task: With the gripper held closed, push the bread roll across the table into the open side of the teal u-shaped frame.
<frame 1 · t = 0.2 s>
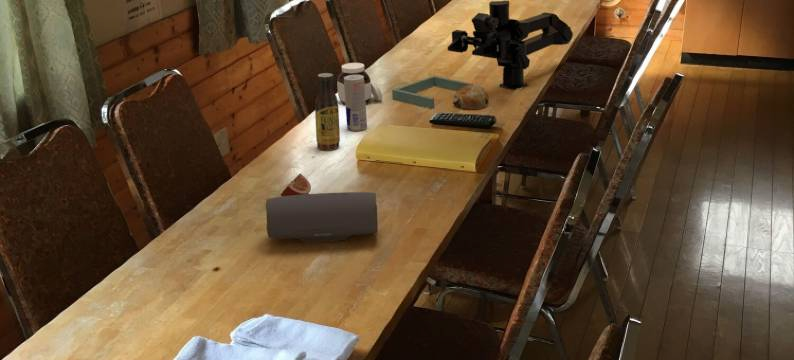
hand: (460, 50, 271), 17 cm above the table, tool horizontal, fingers open, 9 cm apart
beverage can: (357, 129, 263), on the table
bread roll: (470, 106, 278), on the table
bluetooth speaker: (324, 238, 199), on the table
fruit slice: (296, 199, 219), on the table
spread jar: (361, 102, 286), on the table
teal u-shaped frame: (433, 96, 288), on the table
sauce bottle: (329, 147, 250), on the table
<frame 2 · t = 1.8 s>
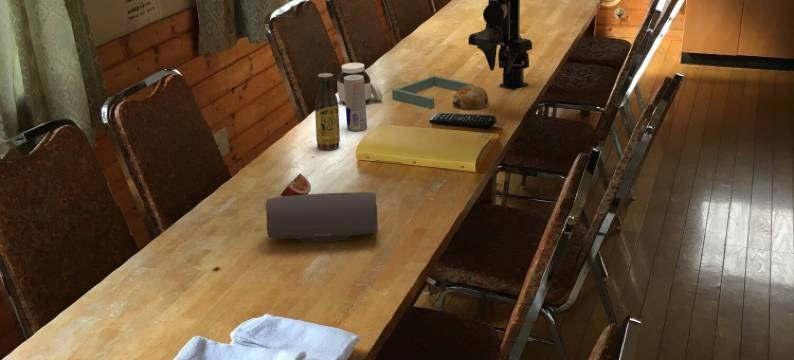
hand: (499, 71, 266), 12 cm above the table, tool pointing down, fingers open, 5 cm apart
nothing on the table moved.
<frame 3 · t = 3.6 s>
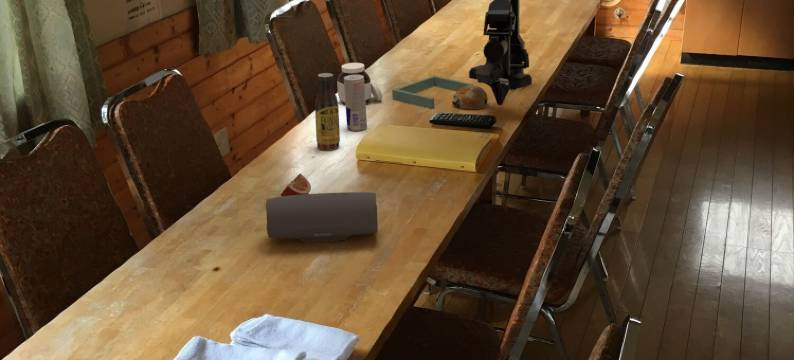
hand: (499, 105, 270), 2 cm above the table, tool pointing down, fingers closed
nothing on the table moved.
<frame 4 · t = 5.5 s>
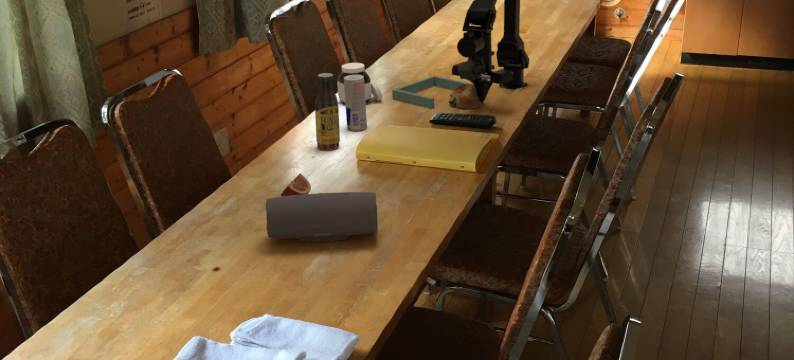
hand: (482, 101, 274), 2 cm above the table, tool pointing down, fingers closed
bread roll: (466, 105, 279), on the table, touching gripper
everything else where it was.
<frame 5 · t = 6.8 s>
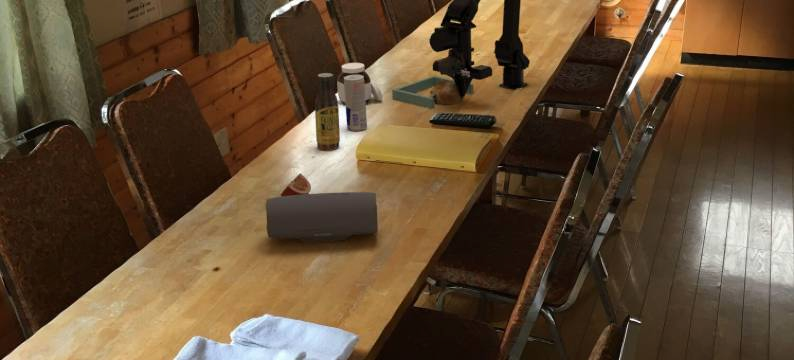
hand: (462, 96, 279), 2 cm above the table, tool pointing down, fingers closed
bread roll: (446, 101, 284), on the table, touching gripper
everything else where it was.
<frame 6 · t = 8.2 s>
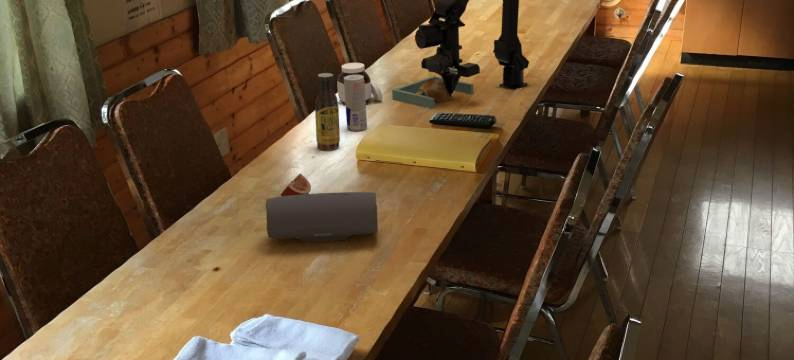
hand: (450, 93, 283), 2 cm above the table, tool pointing down, fingers closed
bread roll: (434, 99, 287), on the table
everything else where it was.
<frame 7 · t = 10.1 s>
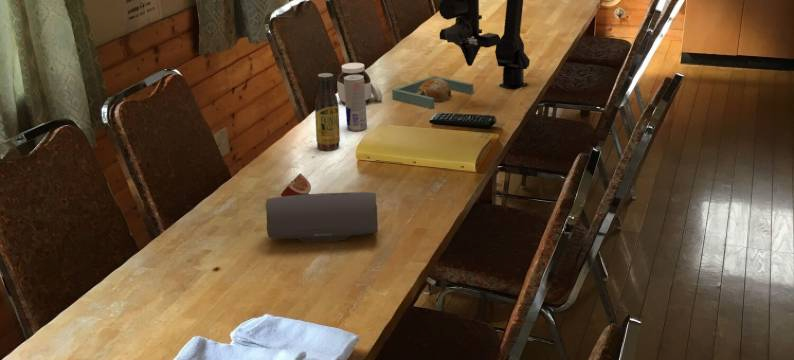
hand: (469, 65, 274), 12 cm above the table, tool pointing down, fingers closed
nothing on the table moved.
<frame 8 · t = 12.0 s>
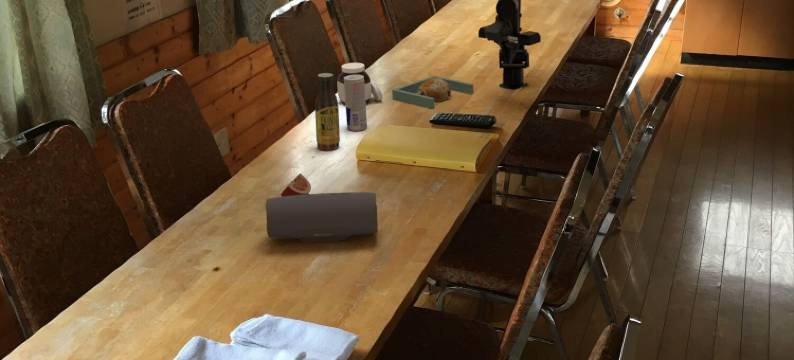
hand: (508, 64, 274), 12 cm above the table, tool pointing down, fingers closed
nothing on the table moved.
at the end: bread roll inside the target area on the teal u-shaped frame (2.3 cm from its centre), point 0.0 cm above the teal u-shaped frame's base; bread roll moved 14.0 cm from its start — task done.
